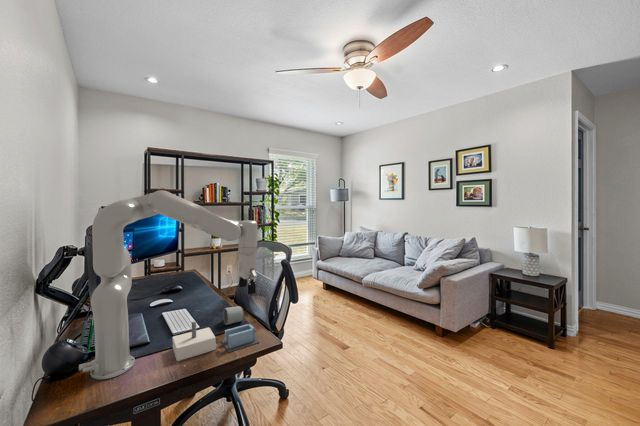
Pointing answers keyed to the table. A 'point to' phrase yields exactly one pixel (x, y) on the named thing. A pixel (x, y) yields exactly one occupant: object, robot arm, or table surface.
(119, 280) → the robot arm
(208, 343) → the stand
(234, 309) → the white cylinder
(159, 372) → the table surface
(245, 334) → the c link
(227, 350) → the coaster
